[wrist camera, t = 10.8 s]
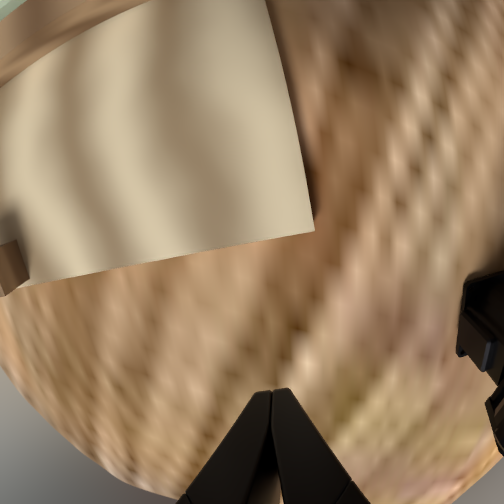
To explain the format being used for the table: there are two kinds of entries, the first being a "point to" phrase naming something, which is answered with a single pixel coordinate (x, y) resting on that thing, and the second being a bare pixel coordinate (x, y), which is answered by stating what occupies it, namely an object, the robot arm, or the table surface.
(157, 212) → the board
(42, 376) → the table surface
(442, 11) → the table surface
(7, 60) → the hinged leg
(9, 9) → the socket blocks
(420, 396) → the table surface
